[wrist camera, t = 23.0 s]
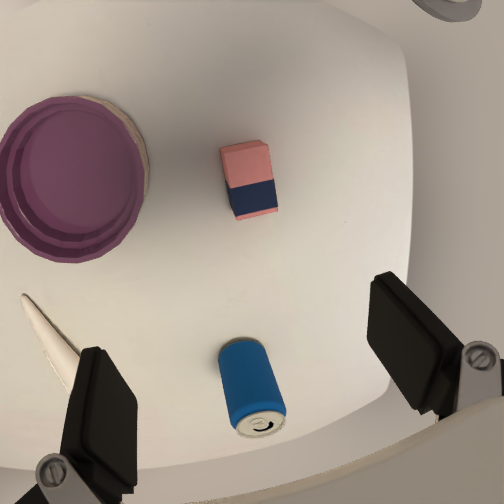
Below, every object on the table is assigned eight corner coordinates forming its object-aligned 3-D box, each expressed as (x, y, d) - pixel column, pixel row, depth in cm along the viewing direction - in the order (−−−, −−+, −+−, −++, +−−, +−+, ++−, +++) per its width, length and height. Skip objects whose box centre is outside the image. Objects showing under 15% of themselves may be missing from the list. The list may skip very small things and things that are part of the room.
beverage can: (232, 376, 44) (249, 445, 34) (208, 351, 41) (221, 426, 31) (272, 356, 44) (297, 424, 33) (250, 328, 41) (274, 402, 30)
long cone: (64, 276, 34) (125, 391, 41) (28, 285, 34) (90, 394, 41) (44, 300, 29) (118, 420, 36) (7, 308, 29) (81, 421, 36)
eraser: (218, 148, 30) (222, 153, 27) (260, 139, 30) (268, 144, 27) (231, 209, 33) (236, 221, 30) (270, 200, 33) (278, 211, 31)
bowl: (37, 79, 22) (17, 78, 18) (173, 125, 28) (172, 129, 24) (3, 217, 27) (-16, 234, 23) (122, 261, 33) (115, 283, 29)
